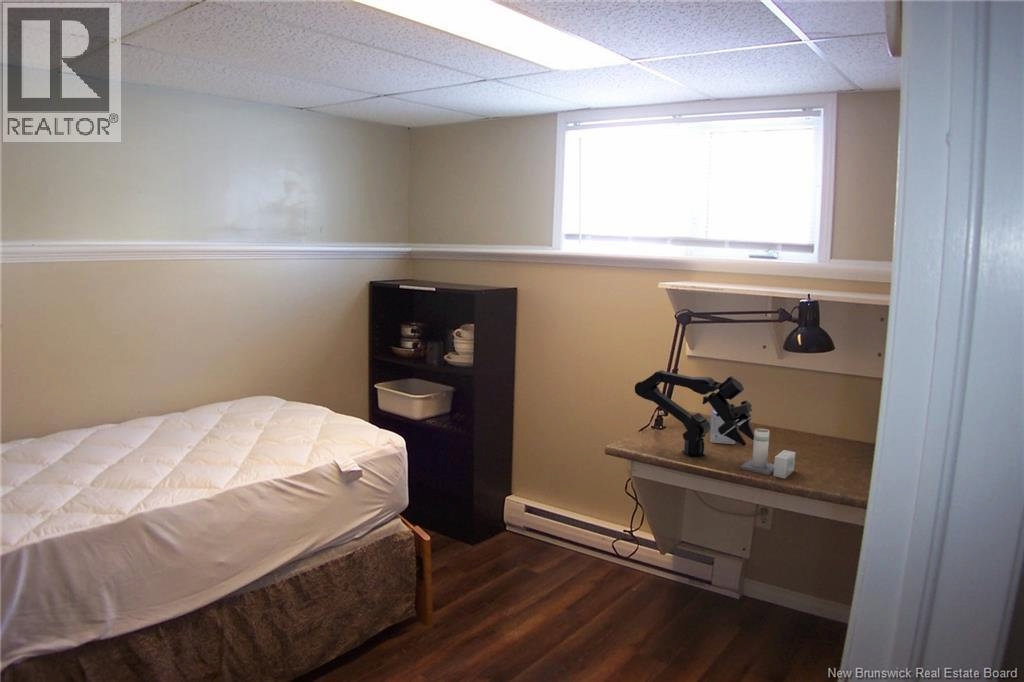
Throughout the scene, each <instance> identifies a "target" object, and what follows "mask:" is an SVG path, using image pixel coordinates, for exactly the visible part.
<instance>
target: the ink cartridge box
mask: <svg viewBox="0 0 1024 682" xmlns="http://www.w3.org/2000/svg"><path fill="white" fill-rule="evenodd" d="M716 414H717V412H716V411H715V410H711V413H710V415H711V417H710V431H709V432H710V434H709V442H710V443H712V444H714V443H715V444H727V445H729V444H730V445H735V444H736V441H734V440H732V439H730V438H728V437H726V436H724V434H726V432H725V433H724V434H723V435H721V434H720V433H719V432H718V427H720V426H721V425H722V424H724V421H723V420H722V419H721V418H720V416H719V417H717V416H716Z"/></svg>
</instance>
